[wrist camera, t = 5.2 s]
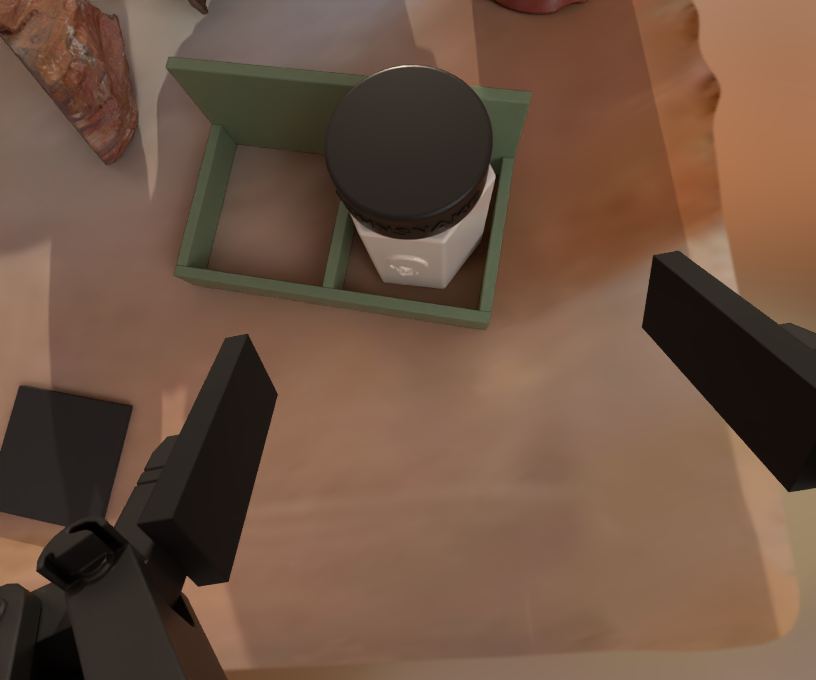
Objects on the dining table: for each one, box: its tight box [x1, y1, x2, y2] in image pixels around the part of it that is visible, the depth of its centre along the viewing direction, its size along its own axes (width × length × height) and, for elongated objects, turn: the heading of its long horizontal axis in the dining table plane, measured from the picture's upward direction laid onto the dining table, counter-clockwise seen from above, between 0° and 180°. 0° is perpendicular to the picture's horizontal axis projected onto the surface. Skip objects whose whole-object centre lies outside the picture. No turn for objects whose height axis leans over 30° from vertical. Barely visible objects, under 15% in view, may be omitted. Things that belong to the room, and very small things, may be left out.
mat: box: [0, 386, 133, 527], centre depth 32 cm, size 9×9×1 cm
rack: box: [166, 57, 531, 330], centre depth 29 cm, size 22×13×8 cm, turn 80°
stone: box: [0, 0, 138, 166], centre depth 31 cm, size 13×8×10 cm
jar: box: [324, 65, 496, 289], centre depth 27 cm, size 9×8×12 cm
